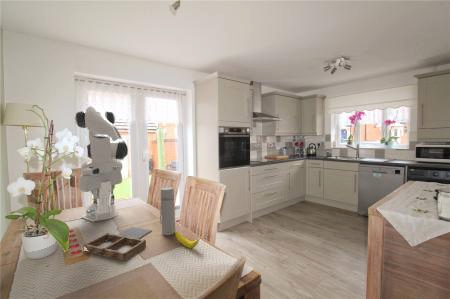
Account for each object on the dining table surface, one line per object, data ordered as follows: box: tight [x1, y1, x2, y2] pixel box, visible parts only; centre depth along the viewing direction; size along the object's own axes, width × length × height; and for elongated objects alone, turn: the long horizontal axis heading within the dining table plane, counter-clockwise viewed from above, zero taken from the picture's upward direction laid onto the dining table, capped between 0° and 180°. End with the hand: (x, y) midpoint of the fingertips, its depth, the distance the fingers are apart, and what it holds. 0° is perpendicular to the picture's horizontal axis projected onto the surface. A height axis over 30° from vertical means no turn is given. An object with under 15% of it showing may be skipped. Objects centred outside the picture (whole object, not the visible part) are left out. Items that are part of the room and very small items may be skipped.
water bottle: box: [159, 186, 176, 237], centre depth 117 cm, size 9×8×25 cm
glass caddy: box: [83, 232, 147, 262], centre depth 102 cm, size 25×13×3 cm, turn 70°
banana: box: [174, 230, 200, 249], centre depth 102 cm, size 3×19×6 cm, turn 48°
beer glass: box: [96, 180, 112, 214], centre depth 102 cm, size 7×7×15 cm
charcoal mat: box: [117, 226, 152, 239], centre depth 117 cm, size 14×12×1 cm
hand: (103, 196), depth 103 cm, fingers closed on beer glass, 6 cm apart
